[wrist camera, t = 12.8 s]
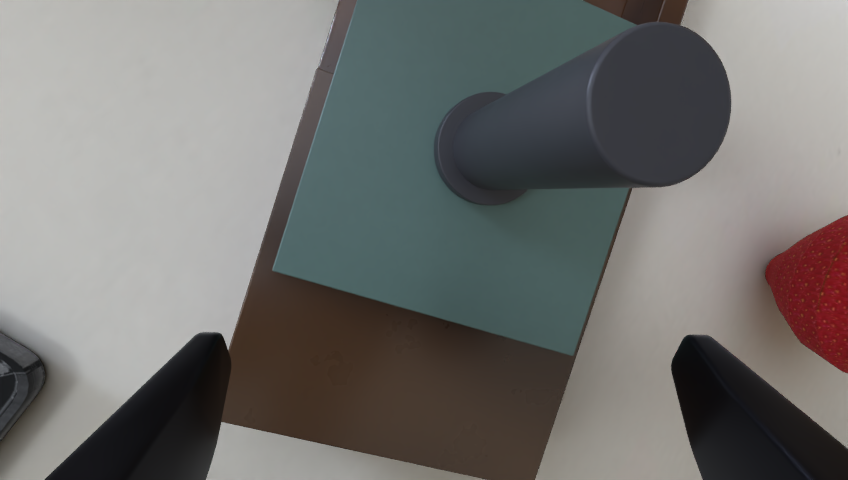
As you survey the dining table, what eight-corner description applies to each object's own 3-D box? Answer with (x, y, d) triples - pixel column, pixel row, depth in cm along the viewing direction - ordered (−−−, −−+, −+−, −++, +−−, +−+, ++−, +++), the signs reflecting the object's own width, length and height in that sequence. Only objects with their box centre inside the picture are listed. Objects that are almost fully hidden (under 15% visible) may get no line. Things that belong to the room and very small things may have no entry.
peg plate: (568, 353, 19) (806, 510, 9) (273, 269, 16) (207, 367, 7) (670, 46, 18) (1021, -102, 9) (383, -83, 16) (463, -454, 7)
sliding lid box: (495, 437, 23) (531, 489, 19) (229, 374, 21) (206, 419, 17) (663, -72, 23) (739, -130, 19) (410, -200, 20) (432, -300, 16)
